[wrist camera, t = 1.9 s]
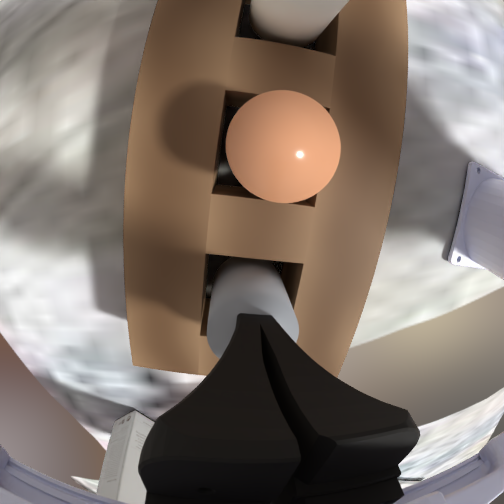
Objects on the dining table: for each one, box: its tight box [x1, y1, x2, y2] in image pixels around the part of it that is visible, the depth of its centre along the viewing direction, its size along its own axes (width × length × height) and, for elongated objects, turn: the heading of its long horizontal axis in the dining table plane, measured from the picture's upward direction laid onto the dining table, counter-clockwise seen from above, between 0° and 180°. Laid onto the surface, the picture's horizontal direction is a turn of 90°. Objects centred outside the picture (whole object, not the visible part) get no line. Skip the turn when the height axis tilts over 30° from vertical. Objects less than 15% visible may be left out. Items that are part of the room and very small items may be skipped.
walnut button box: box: [123, 0, 408, 378], centre depth 13 cm, size 12×24×4 cm, turn 172°
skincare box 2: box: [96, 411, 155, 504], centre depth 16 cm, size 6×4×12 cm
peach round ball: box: [226, 90, 341, 203], centre depth 10 cm, size 4×4×4 cm
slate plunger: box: [207, 256, 299, 359], centre depth 13 cm, size 4×4×4 cm
